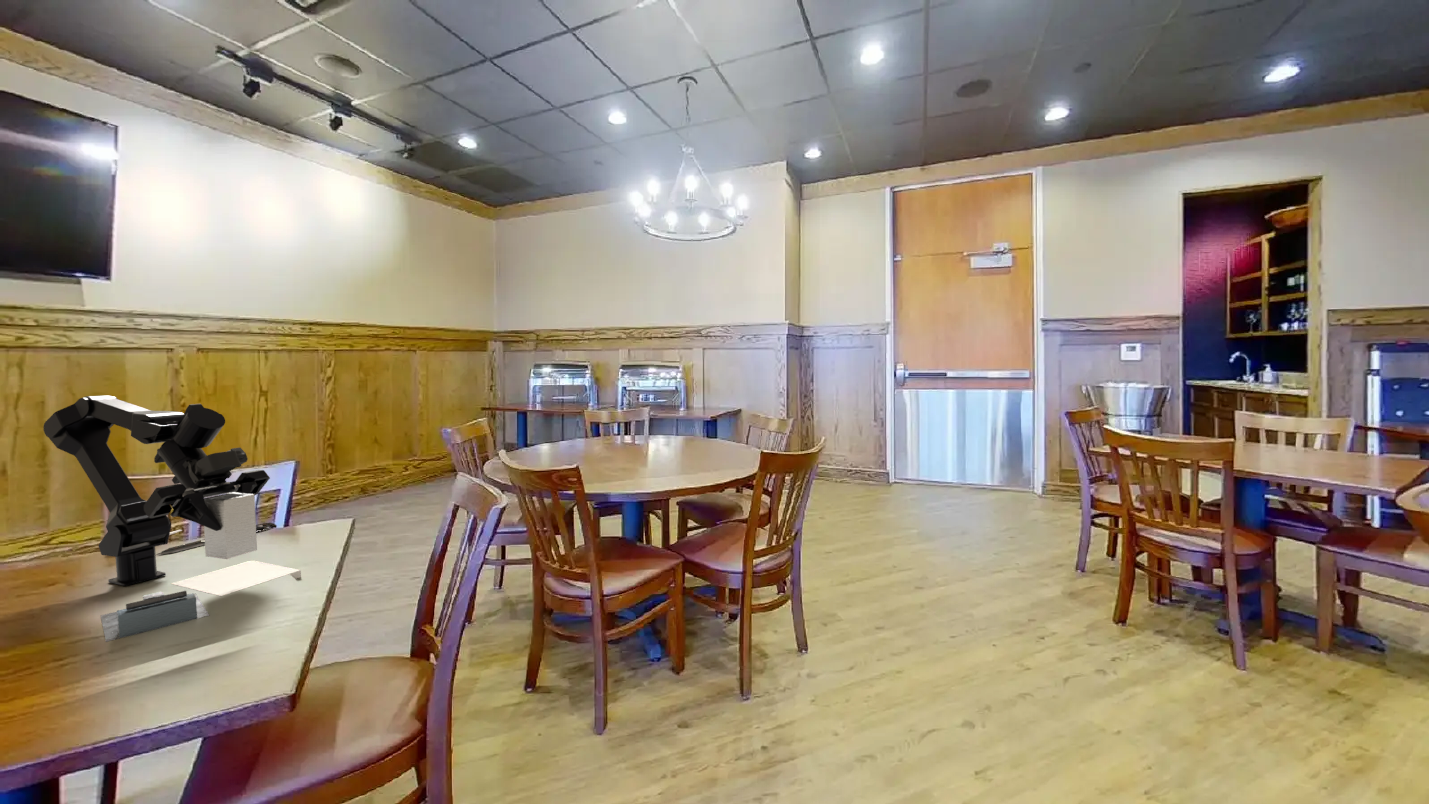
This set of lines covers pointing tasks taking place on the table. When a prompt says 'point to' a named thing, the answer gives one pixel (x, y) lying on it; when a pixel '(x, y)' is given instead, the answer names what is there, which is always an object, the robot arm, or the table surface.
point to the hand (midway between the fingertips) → (235, 525)
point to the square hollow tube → (231, 525)
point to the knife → (199, 543)
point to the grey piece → (152, 614)
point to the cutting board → (237, 577)
